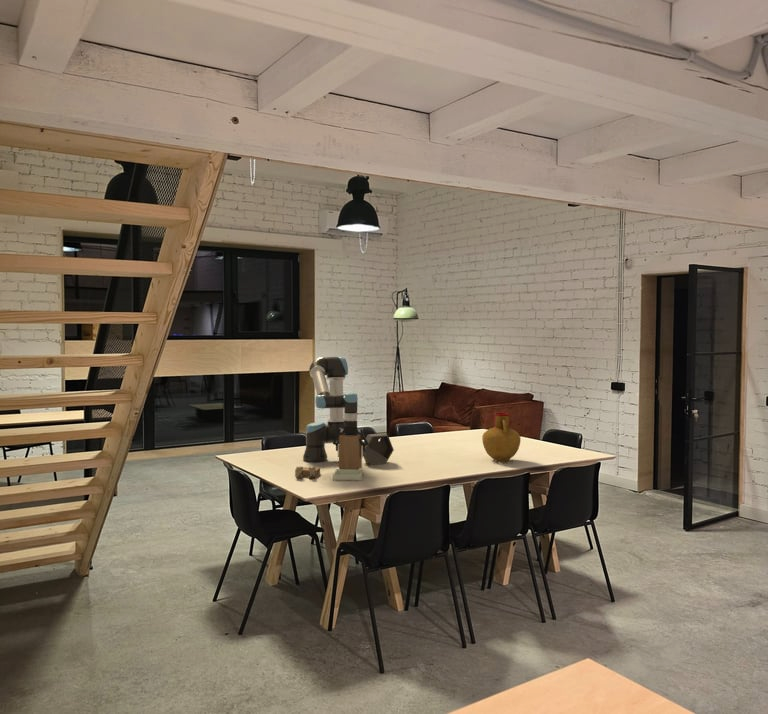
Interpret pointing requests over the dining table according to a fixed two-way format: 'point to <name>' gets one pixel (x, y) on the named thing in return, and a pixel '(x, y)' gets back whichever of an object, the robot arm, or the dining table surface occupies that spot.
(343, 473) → the tray
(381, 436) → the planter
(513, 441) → the vase
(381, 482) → the dining table surface
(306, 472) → the wooden book-shaped slab
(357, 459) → the block
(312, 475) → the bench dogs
